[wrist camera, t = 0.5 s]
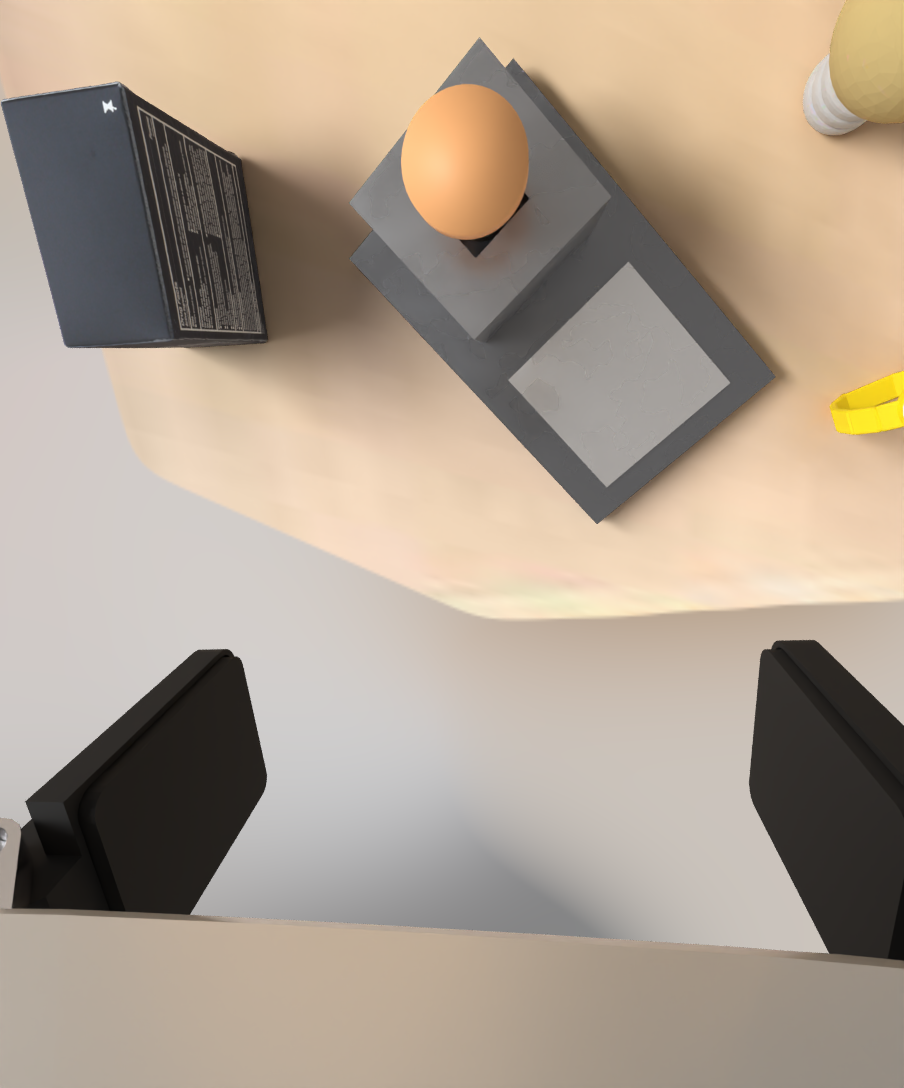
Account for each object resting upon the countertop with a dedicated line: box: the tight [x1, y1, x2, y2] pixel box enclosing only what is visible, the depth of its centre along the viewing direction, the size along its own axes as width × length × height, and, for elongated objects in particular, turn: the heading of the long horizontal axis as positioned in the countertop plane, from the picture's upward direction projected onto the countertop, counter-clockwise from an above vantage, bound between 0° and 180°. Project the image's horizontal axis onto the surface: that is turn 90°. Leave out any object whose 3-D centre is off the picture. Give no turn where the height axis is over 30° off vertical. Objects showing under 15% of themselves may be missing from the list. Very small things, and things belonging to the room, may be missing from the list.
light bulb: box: [803, 0, 904, 135], centre depth 24 cm, size 6×6×10 cm
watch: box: [830, 371, 904, 435], centre depth 31 cm, size 6×3×6 cm, turn 116°
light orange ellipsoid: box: [401, 84, 529, 242], centre depth 23 cm, size 4×4×8 cm
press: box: [349, 37, 775, 524], centre depth 30 cm, size 13×22×10 cm, turn 45°
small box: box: [1, 82, 268, 348], centre depth 31 cm, size 11×6×10 cm, turn 3°
